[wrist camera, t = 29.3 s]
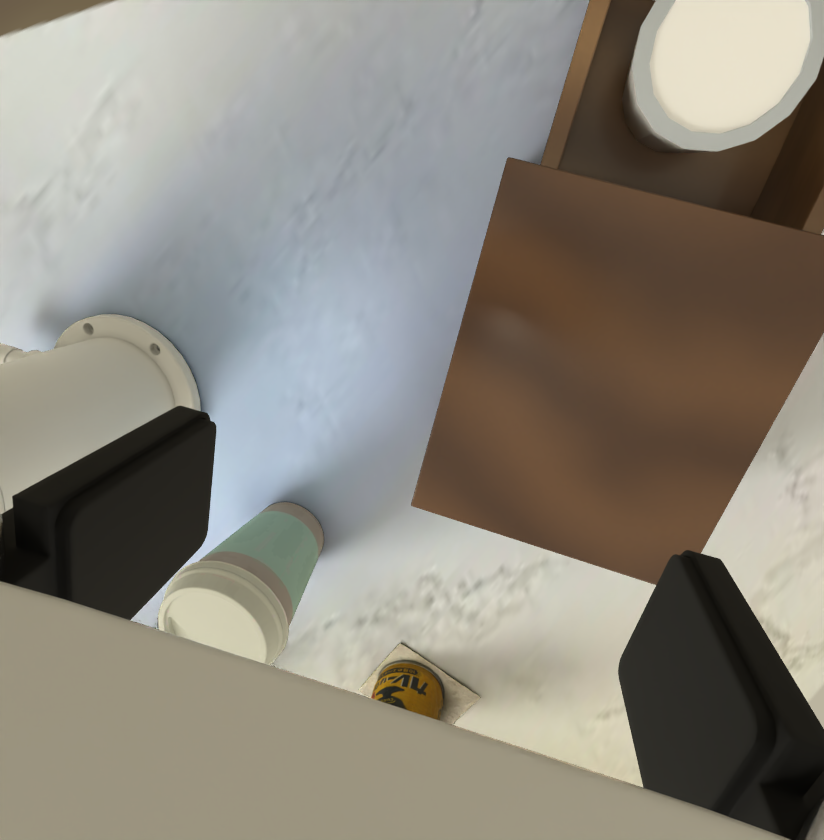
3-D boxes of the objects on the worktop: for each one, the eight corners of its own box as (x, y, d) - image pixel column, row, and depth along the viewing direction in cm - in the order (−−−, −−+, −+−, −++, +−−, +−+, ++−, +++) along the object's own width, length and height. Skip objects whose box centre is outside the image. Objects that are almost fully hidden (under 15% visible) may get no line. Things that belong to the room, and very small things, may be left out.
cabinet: (514, 173, 32) (507, 156, 23) (770, 238, 30) (872, 247, 21) (438, 438, 38) (410, 506, 30) (643, 501, 37) (679, 593, 28)
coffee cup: (234, 485, 44) (134, 575, 33) (332, 487, 42) (261, 583, 31) (253, 573, 47) (167, 683, 36) (346, 579, 45) (286, 697, 34)
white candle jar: (791, 75, 26) (877, 29, 19) (674, 195, 28) (715, 189, 22) (689, -27, 25) (743, -111, 19) (580, 105, 28) (594, 71, 21)
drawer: (638, -215, 24) (683, -400, 17) (955, -161, 23) (1153, -337, 16) (496, 268, 33) (486, 283, 25) (721, 329, 31) (778, 363, 24)
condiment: (399, 641, 46) (358, 774, 35) (481, 695, 46) (465, 845, 35) (358, 688, 49) (308, 824, 38) (435, 738, 49) (407, 889, 38)
